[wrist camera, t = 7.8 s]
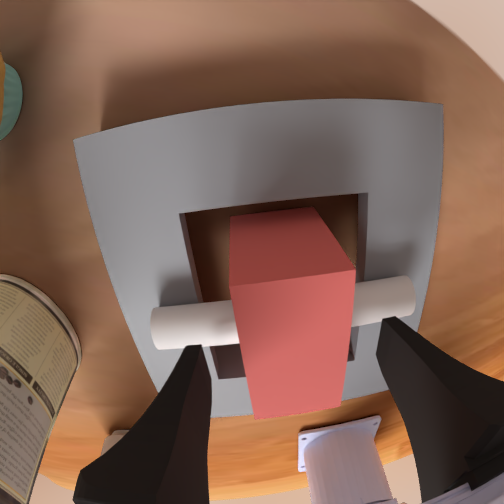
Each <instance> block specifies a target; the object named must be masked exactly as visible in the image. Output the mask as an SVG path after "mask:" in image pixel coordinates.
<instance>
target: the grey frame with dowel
mask: <svg viewBox="0 0 504 504" xmlns="http://www.w3.org/2000/svg"><path fill="white" fill-rule="evenodd" d="M443 140H444V123H443V104H437V103H427V102H416V101H402V100H383V99H310V100H290V101H276V102H264V103H253V104H244V105H235V106H227V107H219V108H212V109H206V110H199V111H193V112H187V113H181V114H176V115H170V116H165V117H160V118H155V119H151V120H146V121H141V122H137V123H133V124H128V125H124V126H120V127H116V128H112V129H108V130H105V131H101V132H97V133H94V134H90V135H87V136H83V137H80V138H77V139H73V143H74V148H75V153H76V158H77V163H78V167H79V172H80V176H81V181H82V185H83V189H84V193H85V197H86V201H87V205H88V209H89V212H90V216H91V219H92V223H93V227H94V230H95V233H96V237H97V240H98V243H99V247H100V250H101V253H102V256H103V259H104V262H105V265H106V268H107V271H108V274H109V277H110V280H111V283H112V285H113V288H114V291H115V294H116V296H117V299H118V302H119V304H120V307H121V310H122V312H123V315H124V317H125V320H126V322H127V325H128V327H129V330H130V332H131V334H132V337H133V339H134V342H135V344H136V346H137V348H138V351H139V353H140V355H141V357H142V360H143V362H144V364H145V366H146V368H147V371H148V373H149V375H150V377H151V379H152V381H153V383H154V385H155V387H156V389H157V391H158V393H159V392H160V390H161V389H162V387H163V386H164V384H165V382H166V381H167V379H168V377H169V376H170V374H171V372H172V370H173V369H174V367H175V365H176V363H177V361H178V359H179V357H180V355H181V353H182V351H183V349H184V348H185V346H186V345H199V344H202V348H203V351H204V355H205V358H206V361H207V365H208V368H209V372H210V375H211V378H212V407H211V418H213V417H229V416H241V415H252V414H254V413H253V409H252V404H251V399H250V394H249V389H248V384H247V379H246V374H245V369H244V364H243V359H242V354H241V348H240V343H239V338H238V333H237V327H236V322H235V317H234V311H233V306H232V300H225V301H216V302H207V303H203V298H202V294H201V290H200V285H199V281H198V276H197V272H196V267H195V262H194V258H193V253H192V248H191V243H190V239H189V234H188V229H187V224H186V218H185V213H186V212H193V211H201V210H208V209H215V208H223V207H231V206H239V205H247V204H255V203H264V202H273V201H282V200H291V199H301V198H311V197H321V196H332V195H344V194H356V193H358V237H357V260H356V278H355V292H354V304H353V314H352V324H351V334H350V342H349V351H348V358H347V366H346V373H345V380H344V386H343V393H342V399H341V401H343V400H348V399H353V398H357V397H362V396H366V395H370V394H374V393H378V392H382V391H386V390H389V388H388V386H387V384H386V382H385V380H384V377H383V375H382V372H381V370H380V367H379V364H378V360H377V357H376V350H377V345H378V339H379V334H380V328H381V323H382V319H383V318H388V317H393V316H396V317H397V318H399V319H400V320H402V321H403V322H404V323H405V324H407V325H408V326H409V327H411V328H412V329H413V330H414V331H416V332H417V330H418V327H419V323H420V319H421V315H422V310H423V306H424V302H425V297H426V292H427V288H428V283H429V278H430V272H431V267H432V261H433V255H434V249H435V242H436V235H437V227H438V219H439V210H440V199H441V187H442V171H443Z"/></svg>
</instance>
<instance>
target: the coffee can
mask: <svg viewBox="0 0 504 504" xmlns="http://www.w3.org/2000/svg"><path fill="white" fill-rule="evenodd" d="M80 362H81V347H80V343H79V340H78V337H77V335H76V333H75V330H74V329H73V327H72V325H71V323H70V322H69V320H68V319H67V317H66V316H65V314H64V313H63V312H62V311H61V310H60V309H59V308H58V307H57V305H56V304H55V303H54V302H53V301H52V300H51V299H50V298H49V297H48V296H47V295H45V294H44V293H43V292H42V291H40V290H39V289H38V288H36V287H35V286H33V285H32V284H30V283H28V282H26V281H24V280H23V279H20V278H17V277H14V276H11V275H5V274H0V504H29V501H30V497H31V494H32V490H33V486H34V483H35V480H36V477H37V473H38V470H39V467H40V464H41V461H42V458H43V455H44V451H45V448H46V445H47V443H48V440H49V437H50V434H51V431H52V429H53V426H54V423H55V421H56V418H57V416H58V413H59V410H60V408H61V406H62V403H63V401H64V398H65V396H66V393H67V391H68V389H69V386H70V383H71V381H72V379H73V377H74V374H75V372H76V371H77V369H78V368H79V365H80Z"/></svg>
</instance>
